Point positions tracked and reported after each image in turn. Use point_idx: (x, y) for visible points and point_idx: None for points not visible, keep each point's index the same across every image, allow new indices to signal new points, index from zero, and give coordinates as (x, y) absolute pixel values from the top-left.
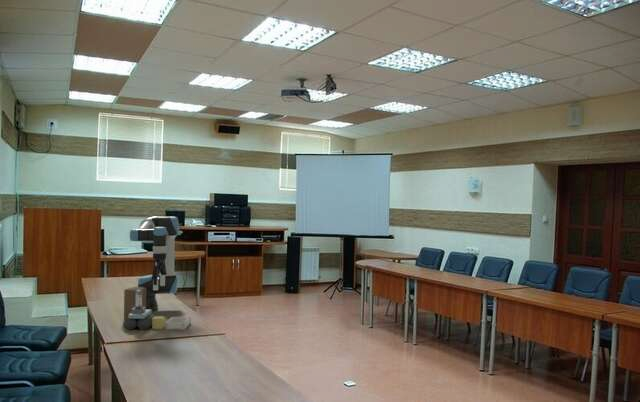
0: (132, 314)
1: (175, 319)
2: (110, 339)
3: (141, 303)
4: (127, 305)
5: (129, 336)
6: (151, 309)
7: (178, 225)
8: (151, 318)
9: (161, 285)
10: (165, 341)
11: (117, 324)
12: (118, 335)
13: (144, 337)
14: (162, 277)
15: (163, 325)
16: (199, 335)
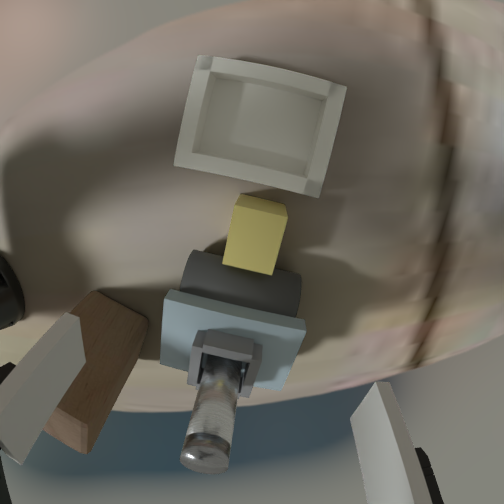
0: (273, 378)
1: (196, 140)
2: (380, 373)
3: (225, 383)
4: (117, 395)
5: (371, 328)
6: (9, 272)
7: None
8: (249, 278)
9: (82, 352)
10: (477, 192)
11: (182, 376)
12: (342, 362)
13: (406, 274)
14: (24, 422)
15: (264, 201)
16: (432, 48)
